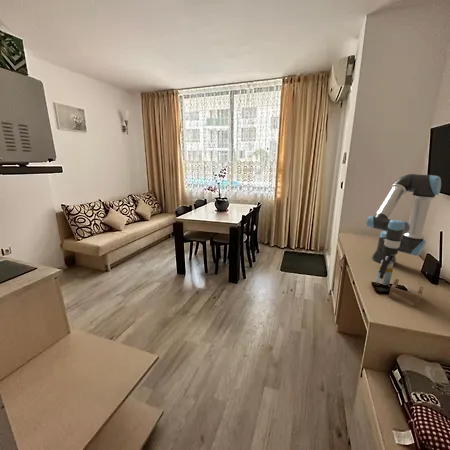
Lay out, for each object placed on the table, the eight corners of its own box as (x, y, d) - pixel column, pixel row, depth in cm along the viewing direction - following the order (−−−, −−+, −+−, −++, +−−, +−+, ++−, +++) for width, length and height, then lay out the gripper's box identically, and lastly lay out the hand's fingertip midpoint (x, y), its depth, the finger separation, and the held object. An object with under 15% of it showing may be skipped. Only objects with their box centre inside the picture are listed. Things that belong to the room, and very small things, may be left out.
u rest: (393, 288, 145) (396, 279, 144) (420, 297, 137) (423, 287, 135) (388, 297, 135) (390, 287, 134) (416, 307, 127) (419, 297, 125)
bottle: (390, 287, 145) (396, 264, 141) (377, 286, 147) (383, 263, 143) (385, 282, 152) (391, 260, 148) (373, 280, 153) (378, 258, 149)
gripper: (388, 240, 154) (381, 271, 159) (378, 249, 136) (370, 283, 142) (402, 243, 149) (394, 275, 154) (394, 253, 131) (385, 288, 137)
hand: (383, 279), depth 148 cm, fingers open, 13 cm apart
